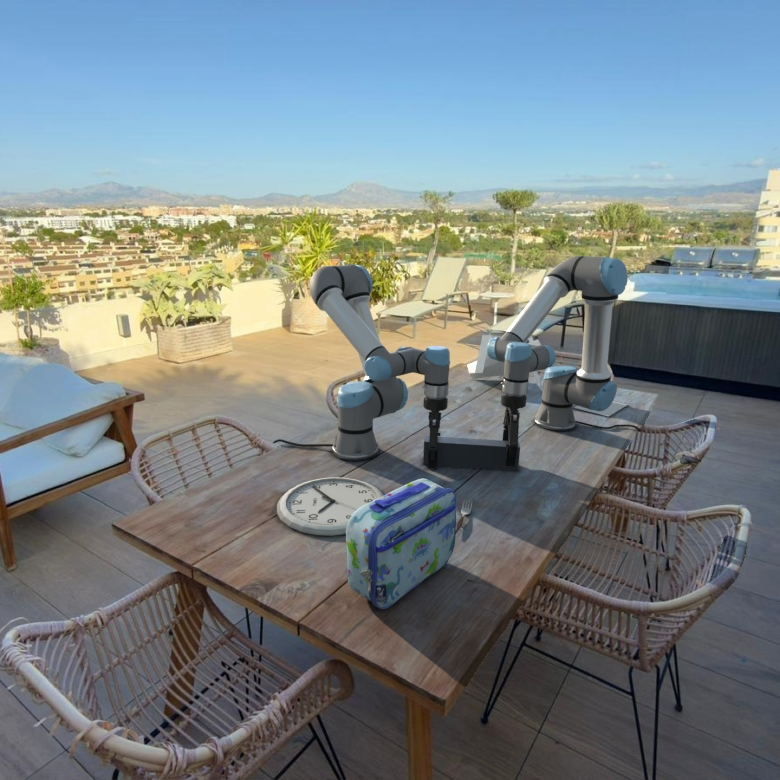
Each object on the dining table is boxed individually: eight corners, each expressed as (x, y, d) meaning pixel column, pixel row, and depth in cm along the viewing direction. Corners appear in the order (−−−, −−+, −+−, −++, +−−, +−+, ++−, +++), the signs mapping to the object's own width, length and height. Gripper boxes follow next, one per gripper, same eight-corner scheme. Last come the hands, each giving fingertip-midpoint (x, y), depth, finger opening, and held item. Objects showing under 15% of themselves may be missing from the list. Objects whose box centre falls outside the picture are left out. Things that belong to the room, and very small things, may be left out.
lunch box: (375, 622, 100) (376, 527, 94) (339, 595, 108) (338, 505, 101) (459, 565, 118) (465, 481, 112) (424, 545, 125) (427, 465, 119)
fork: (449, 535, 129) (449, 528, 129) (463, 505, 144) (463, 498, 143) (459, 537, 129) (460, 530, 128) (472, 507, 143) (473, 500, 142)
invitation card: (608, 416, 214) (573, 407, 224) (608, 416, 214) (573, 407, 224) (627, 404, 229) (594, 396, 238) (627, 405, 229) (594, 397, 239)
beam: (516, 464, 170) (518, 441, 167) (517, 470, 165) (520, 447, 163) (423, 458, 173) (424, 435, 171) (423, 464, 168) (423, 441, 166)
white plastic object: (488, 421, 263) (468, 398, 238) (469, 347, 285) (449, 320, 260) (560, 397, 251) (547, 370, 226) (534, 322, 273) (519, 290, 248)
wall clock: (392, 527, 129) (269, 531, 127) (392, 533, 130) (269, 537, 127) (383, 473, 158) (282, 475, 155) (383, 478, 158) (283, 480, 156)
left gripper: (425, 385, 175) (423, 447, 181) (421, 406, 153) (419, 475, 160) (448, 386, 174) (445, 448, 180) (447, 408, 153) (443, 477, 159)
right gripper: (498, 381, 173) (493, 441, 179) (505, 405, 149) (499, 472, 155) (521, 382, 172) (515, 442, 178) (532, 406, 148) (524, 474, 154)
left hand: (432, 461), depth 170 cm, fingers open, 9 cm apart
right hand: (507, 456), depth 166 cm, fingers open, 13 cm apart
